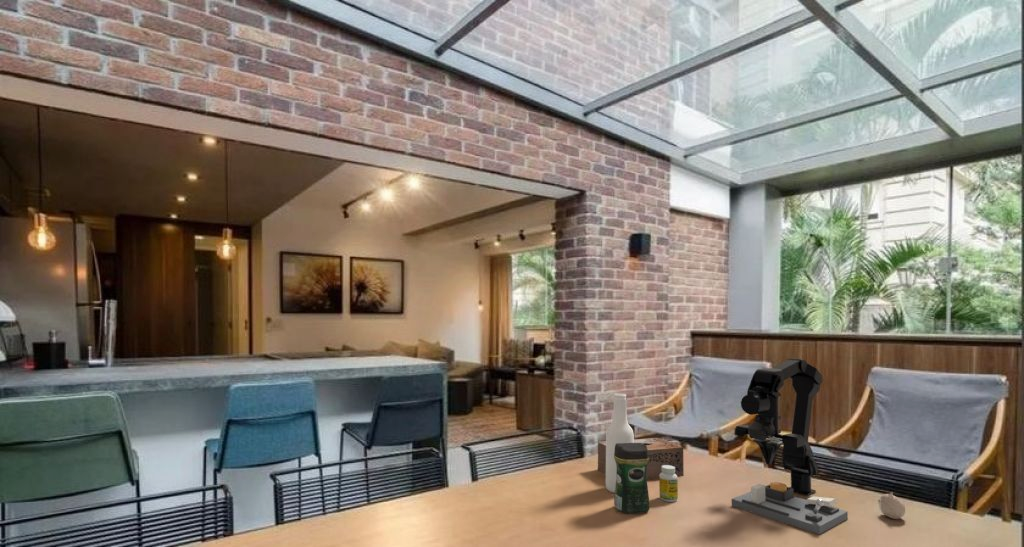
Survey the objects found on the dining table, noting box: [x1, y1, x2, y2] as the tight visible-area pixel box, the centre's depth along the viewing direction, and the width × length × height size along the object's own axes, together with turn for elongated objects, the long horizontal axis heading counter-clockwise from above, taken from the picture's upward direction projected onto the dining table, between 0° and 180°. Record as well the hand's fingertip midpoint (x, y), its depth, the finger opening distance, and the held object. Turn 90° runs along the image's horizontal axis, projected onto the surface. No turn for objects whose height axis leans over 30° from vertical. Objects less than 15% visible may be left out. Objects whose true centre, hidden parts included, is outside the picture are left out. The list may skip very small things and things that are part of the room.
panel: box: [731, 484, 849, 535], centre depth 147 cm, size 18×24×4 cm
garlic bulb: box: [877, 491, 906, 520], centre depth 145 cm, size 7×6×8 cm
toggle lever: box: [813, 499, 824, 514], centre depth 137 cm, size 2×2×4 cm
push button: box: [769, 481, 788, 492], centre depth 155 cm, size 4×4×3 cm
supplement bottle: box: [658, 465, 679, 503], centre depth 156 cm, size 5×5×10 cm
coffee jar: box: [613, 443, 651, 514], centre depth 148 cm, size 10×8×19 cm
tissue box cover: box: [597, 437, 685, 481], centre depth 182 cm, size 26×14×10 cm, turn 110°
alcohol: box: [605, 392, 635, 494], centre depth 165 cm, size 9×9×30 cm
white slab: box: [806, 496, 837, 507], centre depth 145 cm, size 4×6×1 cm, turn 37°
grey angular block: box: [750, 483, 766, 504], centre depth 149 cm, size 5×2×4 cm, turn 127°
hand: (768, 464), depth 155 cm, fingers closed
